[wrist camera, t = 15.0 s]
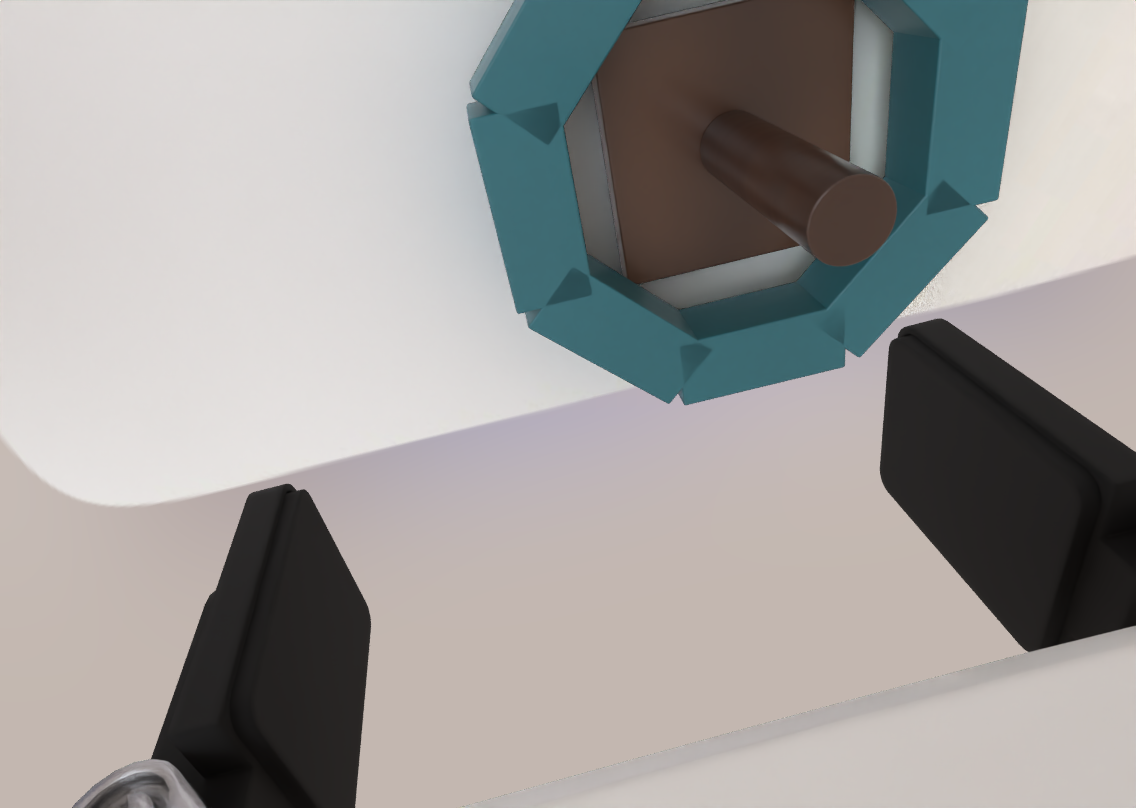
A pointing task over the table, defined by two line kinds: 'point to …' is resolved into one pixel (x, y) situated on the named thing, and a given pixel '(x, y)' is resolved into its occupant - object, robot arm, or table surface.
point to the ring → (762, 318)
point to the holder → (736, 138)
